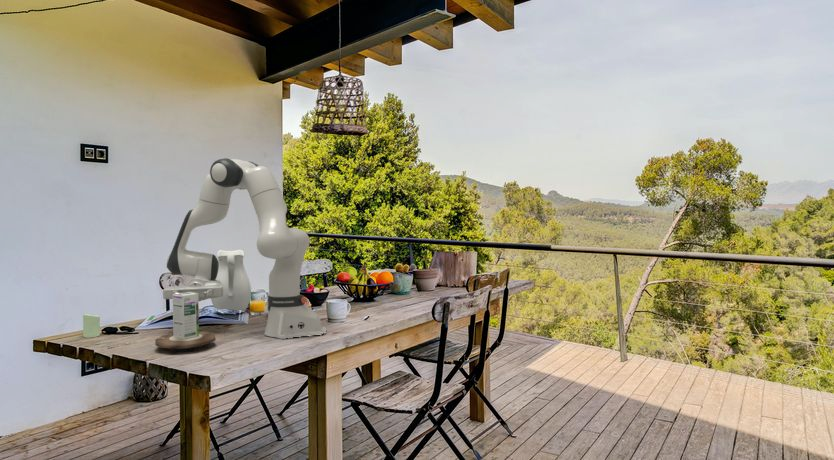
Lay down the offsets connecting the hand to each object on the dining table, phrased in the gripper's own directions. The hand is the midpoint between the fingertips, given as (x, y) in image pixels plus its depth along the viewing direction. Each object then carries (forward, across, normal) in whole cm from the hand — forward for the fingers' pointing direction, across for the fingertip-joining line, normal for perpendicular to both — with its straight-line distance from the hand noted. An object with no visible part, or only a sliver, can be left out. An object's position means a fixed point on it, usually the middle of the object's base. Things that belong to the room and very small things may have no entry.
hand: (191, 294), depth 178 cm
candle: (-13, -35, +15) cm, 40 cm away
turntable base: (+12, 0, +16) cm, 20 cm away
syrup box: (+12, 0, +12) cm, 17 cm away
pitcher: (-43, +10, +16) cm, 47 cm away
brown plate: (+12, 0, +14) cm, 18 cm away
